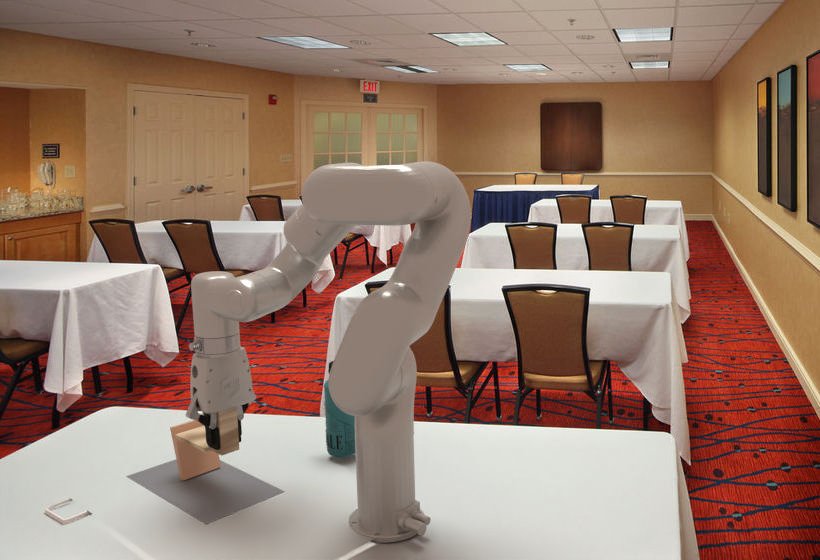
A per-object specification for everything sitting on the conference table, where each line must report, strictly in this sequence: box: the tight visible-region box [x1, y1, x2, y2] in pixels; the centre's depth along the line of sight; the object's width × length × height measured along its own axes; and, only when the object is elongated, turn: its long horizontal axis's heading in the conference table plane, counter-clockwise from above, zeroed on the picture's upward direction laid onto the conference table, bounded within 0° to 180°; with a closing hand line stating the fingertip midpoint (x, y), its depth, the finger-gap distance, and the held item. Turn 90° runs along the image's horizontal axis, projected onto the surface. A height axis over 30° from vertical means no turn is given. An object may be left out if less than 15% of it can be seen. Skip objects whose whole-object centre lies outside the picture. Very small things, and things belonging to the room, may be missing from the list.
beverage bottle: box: [323, 360, 356, 458], centre depth 156 cm, size 6×7×20 cm
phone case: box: [44, 498, 93, 525], centre depth 141 cm, size 7×1×15 cm
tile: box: [169, 419, 221, 480], centre depth 149 cm, size 1×8×10 cm, turn 134°
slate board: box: [126, 458, 286, 525], centre depth 145 cm, size 28×16×1 cm, turn 46°
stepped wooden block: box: [175, 407, 240, 456], centre depth 142 cm, size 13×6×8 cm, turn 46°
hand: (224, 443), depth 140 cm, fingers closed on stepped wooden block, 3 cm apart
